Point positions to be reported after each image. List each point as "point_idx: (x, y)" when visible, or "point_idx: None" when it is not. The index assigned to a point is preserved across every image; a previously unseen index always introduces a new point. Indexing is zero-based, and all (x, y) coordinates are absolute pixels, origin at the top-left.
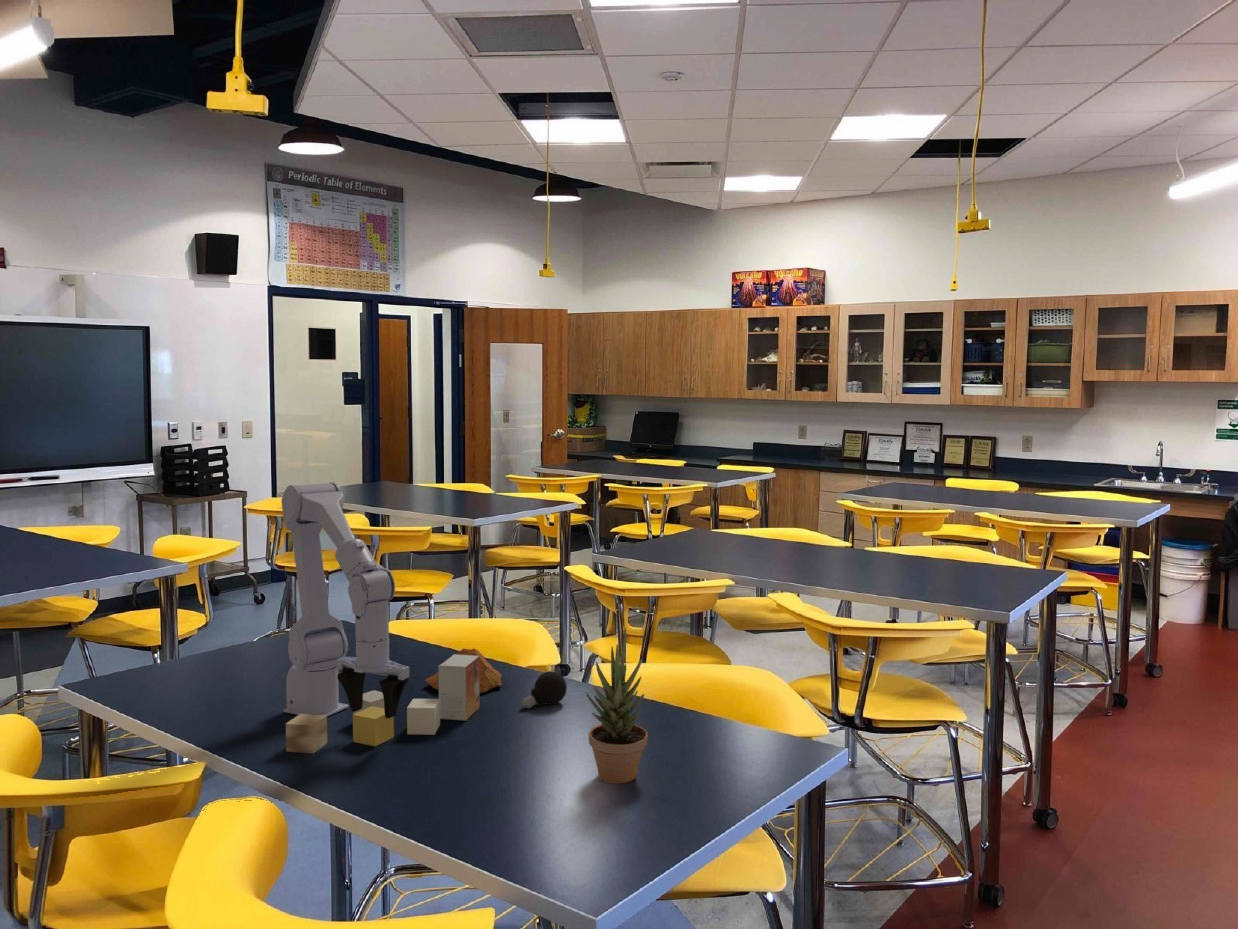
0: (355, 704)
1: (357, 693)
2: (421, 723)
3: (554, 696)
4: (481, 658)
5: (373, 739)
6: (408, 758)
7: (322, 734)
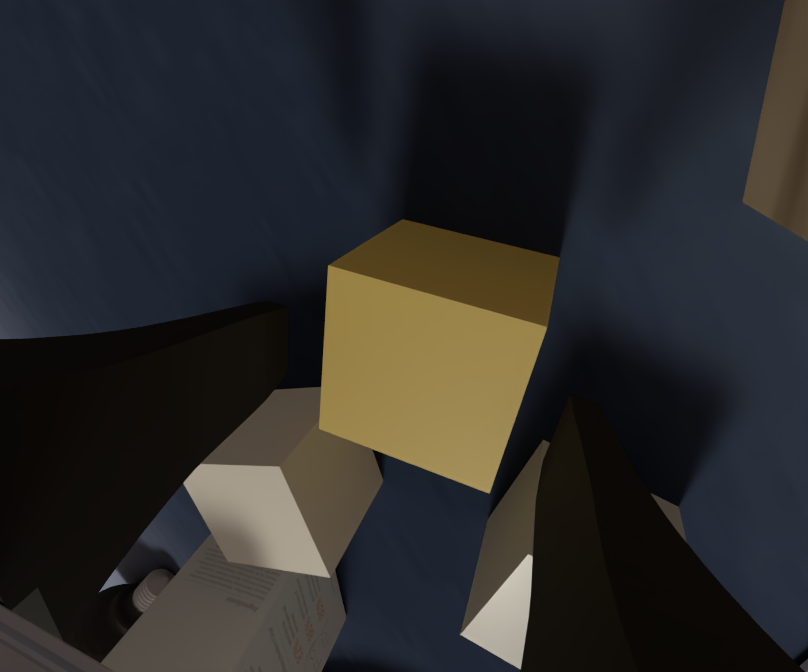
0: (564, 446)
1: (555, 547)
2: (269, 415)
3: (96, 595)
4: None
5: (402, 231)
6: (183, 115)
7: (793, 134)
